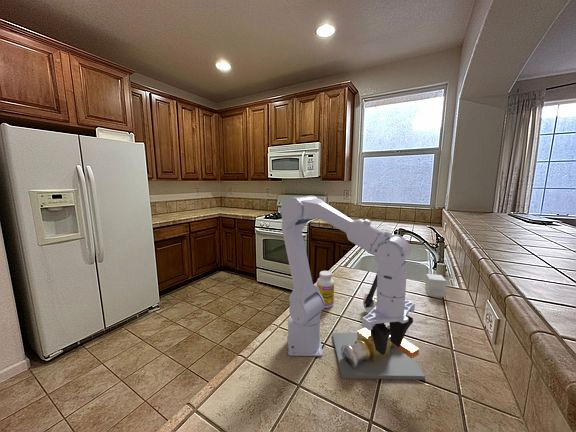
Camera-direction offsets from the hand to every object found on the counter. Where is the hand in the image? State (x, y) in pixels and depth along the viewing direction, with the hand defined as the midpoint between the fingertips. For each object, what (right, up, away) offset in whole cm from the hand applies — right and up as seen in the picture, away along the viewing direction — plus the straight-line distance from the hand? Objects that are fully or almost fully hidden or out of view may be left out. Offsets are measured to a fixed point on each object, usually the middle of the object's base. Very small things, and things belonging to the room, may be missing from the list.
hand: (387, 347), depth 53 cm
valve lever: (+3, -1, +6) cm, 7 cm away
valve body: (+1, -9, +12) cm, 15 cm away
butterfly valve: (+13, -5, +34) cm, 37 cm away
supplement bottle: (-8, -5, +39) cm, 40 cm away
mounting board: (+1, -9, +12) cm, 15 cm away
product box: (+39, -3, +46) cm, 61 cm away
